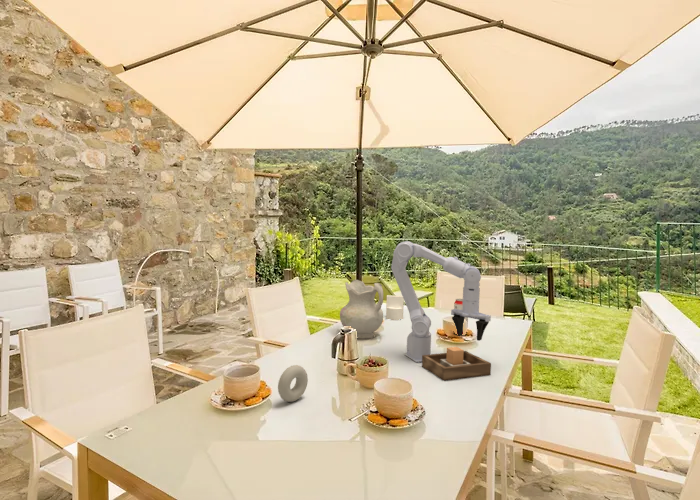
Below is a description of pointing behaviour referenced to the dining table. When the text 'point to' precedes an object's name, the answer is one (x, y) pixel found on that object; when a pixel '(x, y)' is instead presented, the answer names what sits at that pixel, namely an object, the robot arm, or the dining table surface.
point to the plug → (455, 355)
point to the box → (456, 366)
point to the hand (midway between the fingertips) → (469, 337)
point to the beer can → (459, 306)
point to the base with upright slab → (394, 307)
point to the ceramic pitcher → (363, 309)
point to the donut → (286, 381)
